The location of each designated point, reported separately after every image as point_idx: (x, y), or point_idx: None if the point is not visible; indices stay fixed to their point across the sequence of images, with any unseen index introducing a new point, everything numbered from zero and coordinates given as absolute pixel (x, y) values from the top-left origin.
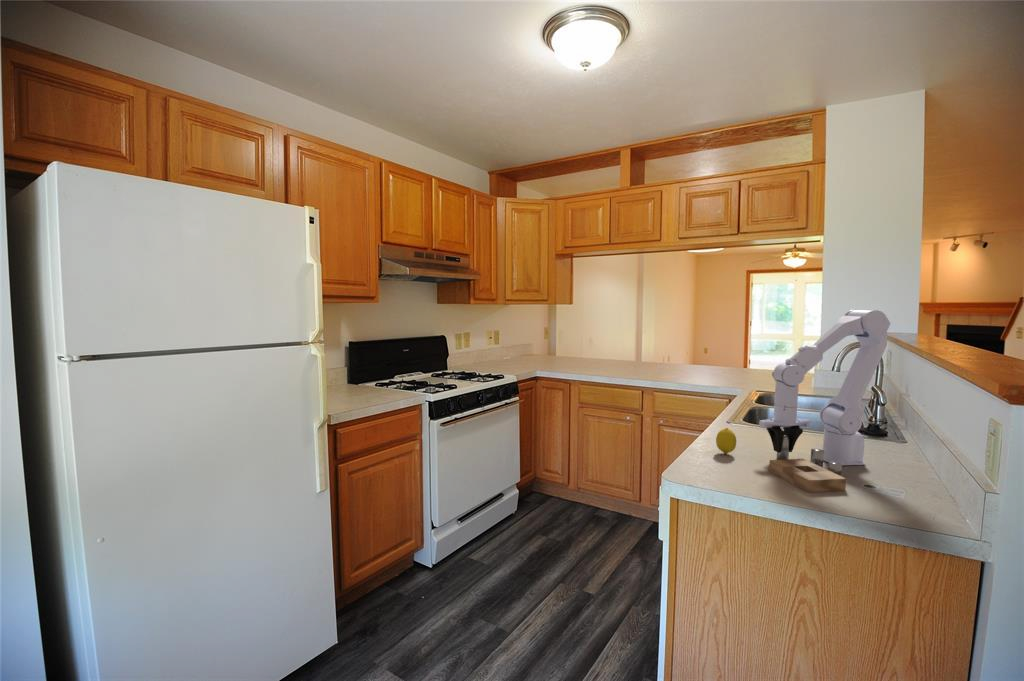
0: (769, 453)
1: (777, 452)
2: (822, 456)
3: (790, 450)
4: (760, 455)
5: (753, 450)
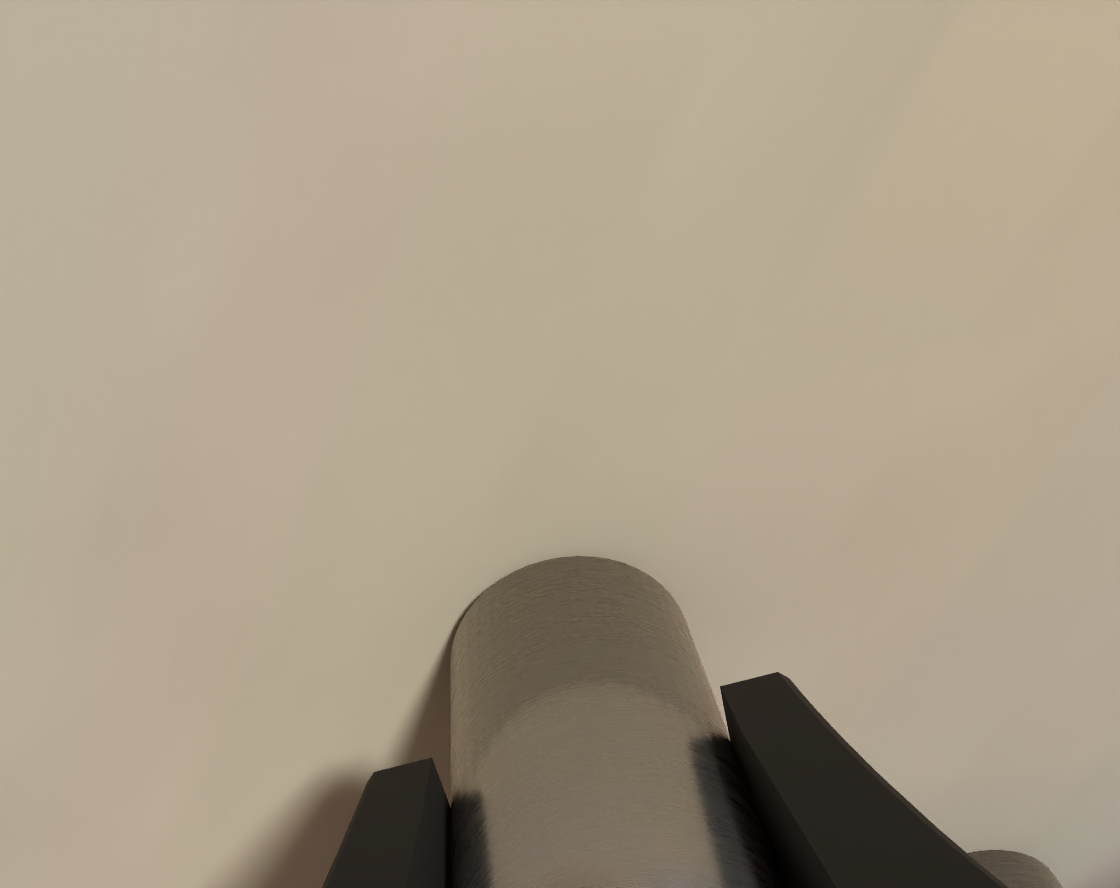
0: (438, 261)
1: (452, 775)
2: None
3: None
4: (123, 468)
5: (8, 15)
